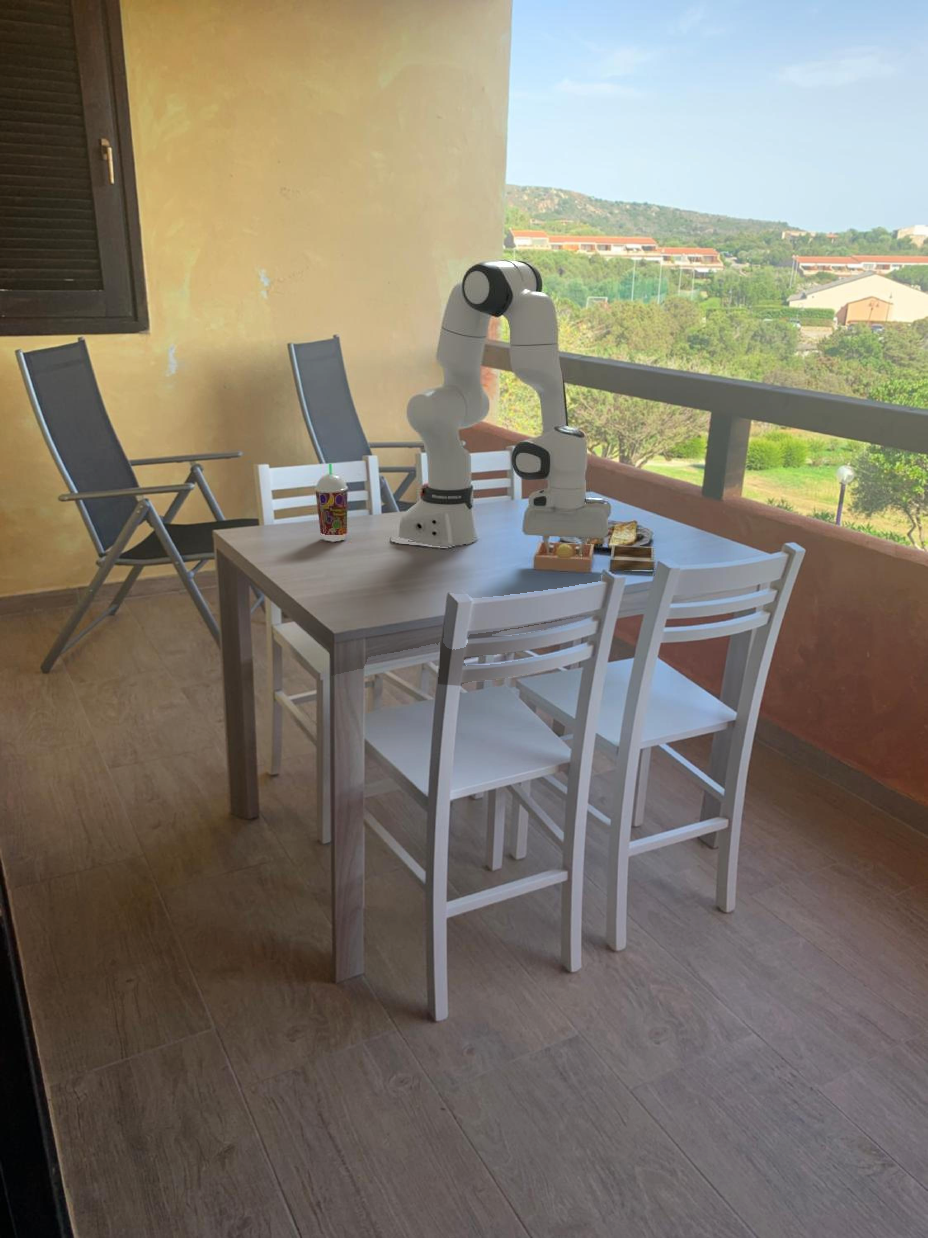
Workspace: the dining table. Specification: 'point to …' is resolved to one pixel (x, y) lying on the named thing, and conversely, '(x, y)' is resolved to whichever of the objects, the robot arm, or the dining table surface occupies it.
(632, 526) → the food plate
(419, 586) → the dining table surface
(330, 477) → the smoothie
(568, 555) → the ball
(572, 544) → the dish
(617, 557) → the tray
